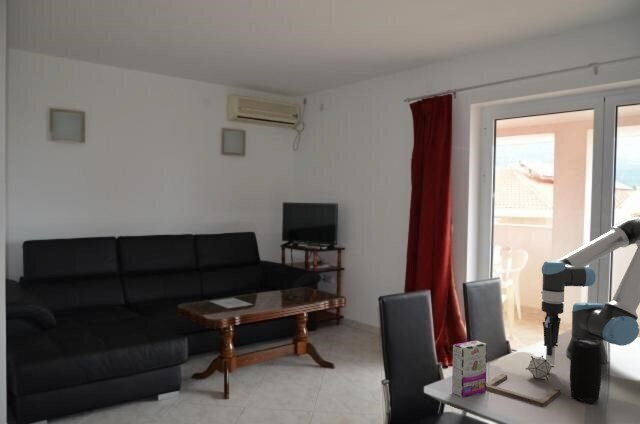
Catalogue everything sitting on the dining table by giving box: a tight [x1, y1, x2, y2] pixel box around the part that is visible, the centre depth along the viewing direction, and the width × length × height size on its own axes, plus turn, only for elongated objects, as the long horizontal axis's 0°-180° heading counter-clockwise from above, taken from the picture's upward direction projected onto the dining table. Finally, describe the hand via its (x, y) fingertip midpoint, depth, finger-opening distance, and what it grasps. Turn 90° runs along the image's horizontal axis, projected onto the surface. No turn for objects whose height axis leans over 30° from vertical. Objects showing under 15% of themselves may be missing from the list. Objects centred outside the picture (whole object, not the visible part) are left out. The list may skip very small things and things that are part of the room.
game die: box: [525, 354, 555, 381], centre depth 175 cm, size 9×8×10 cm
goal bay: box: [486, 373, 561, 407], centre depth 163 cm, size 16×20×1 cm
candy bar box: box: [451, 339, 488, 399], centre depth 160 cm, size 11×5×16 cm, turn 119°
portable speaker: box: [569, 337, 603, 405], centre depth 157 cm, size 9×9×20 cm
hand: (550, 363), depth 184 cm, fingers closed
